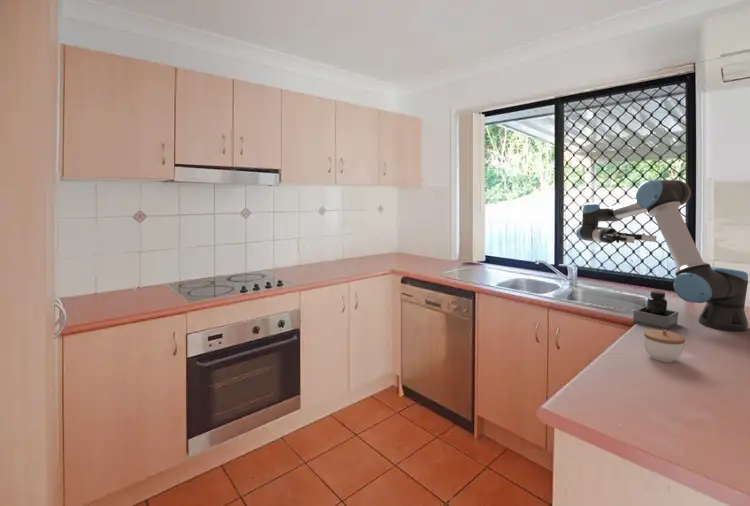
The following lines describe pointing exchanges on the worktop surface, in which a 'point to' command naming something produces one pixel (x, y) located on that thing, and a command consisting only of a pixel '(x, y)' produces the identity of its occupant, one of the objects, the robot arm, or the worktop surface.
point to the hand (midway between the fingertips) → (644, 239)
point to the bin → (655, 318)
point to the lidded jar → (663, 344)
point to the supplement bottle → (657, 303)
